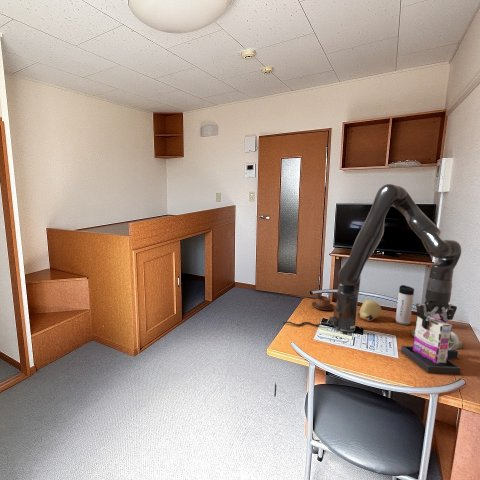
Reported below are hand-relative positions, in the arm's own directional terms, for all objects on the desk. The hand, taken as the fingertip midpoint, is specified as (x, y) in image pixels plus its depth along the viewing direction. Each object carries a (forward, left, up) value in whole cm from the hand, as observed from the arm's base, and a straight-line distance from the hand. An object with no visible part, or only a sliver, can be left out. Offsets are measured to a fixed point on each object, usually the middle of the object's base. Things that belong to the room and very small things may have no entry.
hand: (433, 328), depth 129 cm
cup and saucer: (-20, +58, -15) cm, 63 cm away
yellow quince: (-1, +44, -15) cm, 46 cm away
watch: (+11, +6, -15) cm, 20 cm away
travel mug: (+14, +40, -15) cm, 45 cm away
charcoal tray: (0, 0, -15) cm, 15 cm away
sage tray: (+16, +19, -15) cm, 29 cm away
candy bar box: (0, 0, -13) cm, 13 cm away
